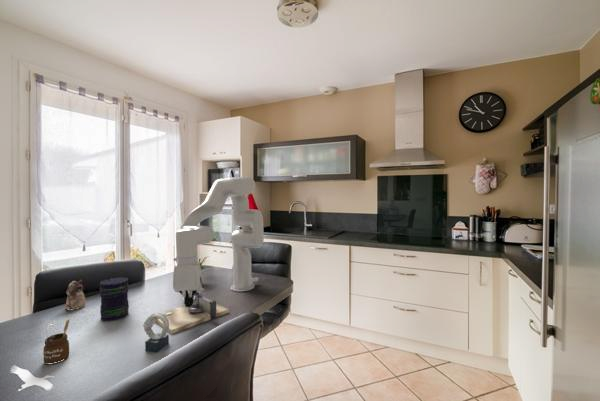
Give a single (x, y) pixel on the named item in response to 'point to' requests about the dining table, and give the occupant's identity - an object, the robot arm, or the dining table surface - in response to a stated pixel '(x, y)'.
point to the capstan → (203, 305)
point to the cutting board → (187, 318)
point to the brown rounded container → (56, 346)
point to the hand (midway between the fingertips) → (189, 305)
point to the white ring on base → (157, 339)
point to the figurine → (75, 296)
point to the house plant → (201, 264)
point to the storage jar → (114, 298)
